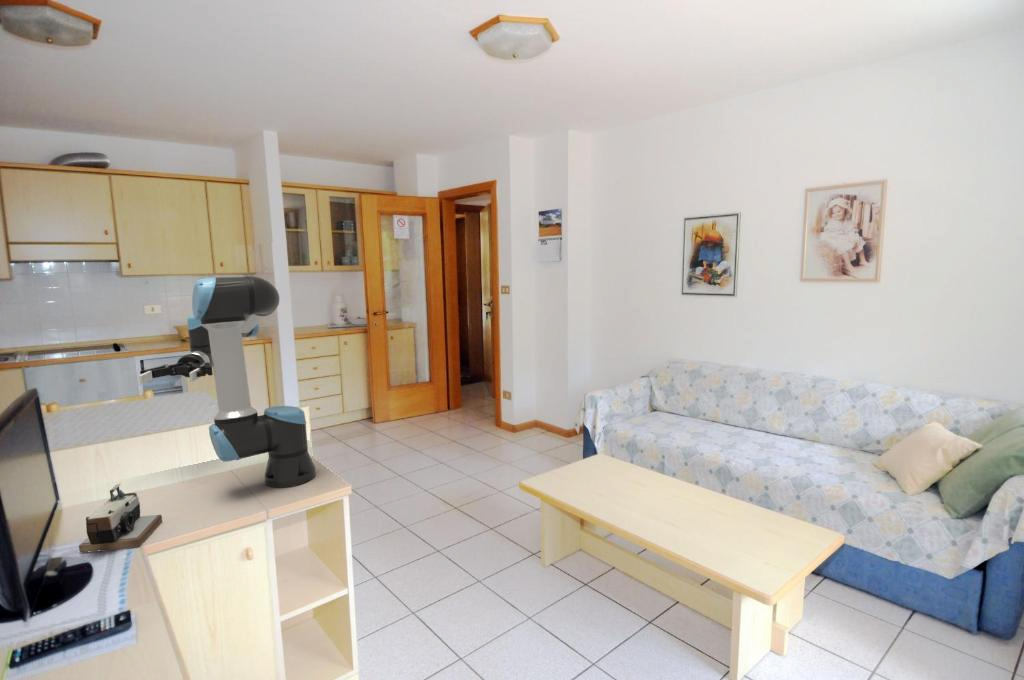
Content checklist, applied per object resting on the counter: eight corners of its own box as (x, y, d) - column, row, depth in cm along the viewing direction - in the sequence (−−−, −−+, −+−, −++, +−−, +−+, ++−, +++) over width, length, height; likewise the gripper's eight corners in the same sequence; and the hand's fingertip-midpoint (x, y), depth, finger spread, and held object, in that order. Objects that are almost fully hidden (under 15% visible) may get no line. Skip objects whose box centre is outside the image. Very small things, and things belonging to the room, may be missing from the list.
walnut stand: (162, 521, 146) (161, 513, 145) (139, 546, 133) (138, 538, 133) (108, 526, 143) (107, 518, 143) (79, 553, 131) (78, 544, 130)
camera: (120, 543, 131) (114, 504, 129) (85, 546, 129) (79, 507, 128) (149, 514, 145) (145, 479, 144) (118, 516, 144) (113, 481, 142)
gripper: (234, 373, 184) (212, 388, 163) (153, 377, 179) (120, 393, 158) (232, 351, 182) (210, 363, 162) (150, 355, 178) (117, 368, 157)
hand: (166, 378), depth 160 cm, fingers open, 13 cm apart
